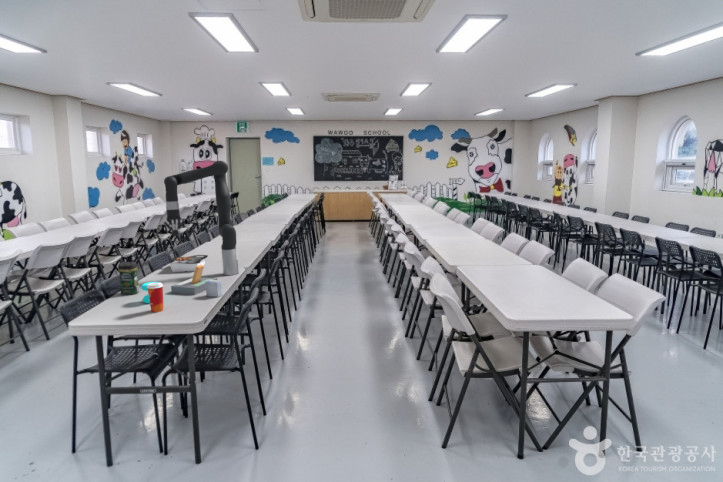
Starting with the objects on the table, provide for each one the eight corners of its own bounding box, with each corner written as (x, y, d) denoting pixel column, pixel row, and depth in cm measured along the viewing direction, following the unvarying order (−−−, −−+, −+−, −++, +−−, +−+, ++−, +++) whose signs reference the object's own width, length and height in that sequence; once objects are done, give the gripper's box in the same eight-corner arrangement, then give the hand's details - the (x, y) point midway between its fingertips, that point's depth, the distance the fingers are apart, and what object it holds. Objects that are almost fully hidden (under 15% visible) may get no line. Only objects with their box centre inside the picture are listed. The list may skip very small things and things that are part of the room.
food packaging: (176, 255, 335) (208, 254, 337) (177, 265, 336) (209, 264, 338) (165, 263, 310) (199, 261, 312) (166, 273, 312) (200, 272, 314)
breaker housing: (171, 292, 264) (170, 285, 263) (195, 283, 284) (195, 276, 284) (194, 294, 259) (194, 287, 258) (217, 284, 280) (217, 278, 279)
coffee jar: (118, 295, 261) (114, 263, 258) (125, 291, 269) (122, 260, 265) (135, 295, 261) (131, 263, 257) (142, 291, 268) (138, 260, 265)
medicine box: (223, 295, 257) (221, 280, 256) (218, 297, 253) (217, 282, 252) (211, 294, 260) (210, 279, 259) (206, 296, 256) (205, 281, 254)
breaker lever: (190, 284, 269) (195, 266, 266) (196, 282, 274) (201, 264, 271) (193, 285, 269) (198, 267, 265) (199, 283, 273) (204, 265, 270)
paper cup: (152, 308, 236) (149, 282, 233) (167, 307, 237) (165, 281, 234) (146, 313, 228) (143, 286, 226) (162, 312, 229) (159, 285, 226)
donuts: (153, 280, 254) (164, 282, 248) (155, 297, 255) (166, 300, 250) (136, 284, 245) (148, 286, 240) (138, 302, 247) (149, 305, 242)
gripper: (163, 209, 277) (165, 237, 280) (185, 208, 285) (187, 235, 288) (160, 208, 283) (162, 236, 286) (182, 207, 291) (184, 234, 294)
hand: (175, 235), depth 287 cm, fingers closed
